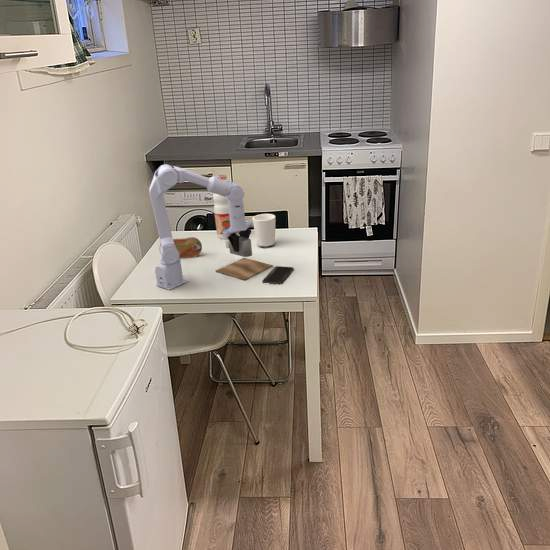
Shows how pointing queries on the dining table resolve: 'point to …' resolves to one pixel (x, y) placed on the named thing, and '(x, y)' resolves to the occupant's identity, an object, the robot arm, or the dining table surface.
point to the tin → (188, 247)
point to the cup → (264, 229)
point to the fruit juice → (221, 213)
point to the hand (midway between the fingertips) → (240, 249)
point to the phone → (278, 275)
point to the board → (244, 268)
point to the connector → (241, 247)
